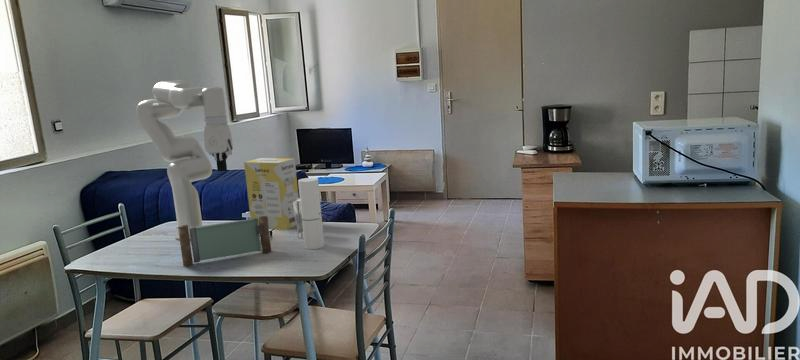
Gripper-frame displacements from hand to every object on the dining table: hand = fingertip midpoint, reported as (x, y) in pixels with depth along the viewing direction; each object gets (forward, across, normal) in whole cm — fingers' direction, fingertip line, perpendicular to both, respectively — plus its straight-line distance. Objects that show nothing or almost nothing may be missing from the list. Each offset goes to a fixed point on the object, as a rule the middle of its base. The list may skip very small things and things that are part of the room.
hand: (222, 170), depth 214 cm
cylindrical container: (+29, +32, +9) cm, 45 cm away
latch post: (+29, +19, -2) cm, 35 cm away
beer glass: (+29, +21, +18) cm, 40 cm away
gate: (+28, +10, -12) cm, 33 cm away
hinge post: (+29, +1, -22) cm, 37 cm away
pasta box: (+29, -2, +29) cm, 41 cm away
